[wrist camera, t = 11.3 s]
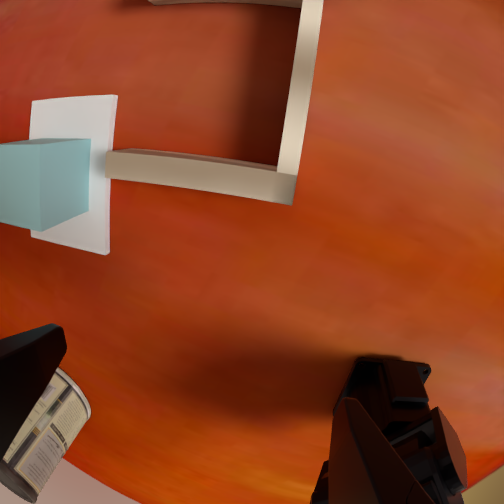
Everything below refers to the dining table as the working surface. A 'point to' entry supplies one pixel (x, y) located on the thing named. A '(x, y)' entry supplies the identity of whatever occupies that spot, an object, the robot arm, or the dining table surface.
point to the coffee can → (44, 437)
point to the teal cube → (44, 181)
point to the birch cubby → (230, 170)
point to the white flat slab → (101, 134)
